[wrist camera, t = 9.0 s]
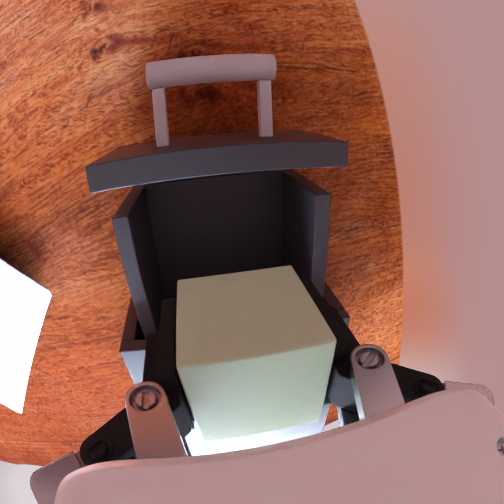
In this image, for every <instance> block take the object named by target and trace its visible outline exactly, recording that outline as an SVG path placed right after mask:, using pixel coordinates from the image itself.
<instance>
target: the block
mask: <svg viewBox="0 0 504 504" xmlns="http://www.w3.org/2000/svg"><path fill="white" fill-rule="evenodd" d="M336 341H337V340H336V338H335V336H334V334H333V333H332V331H331V329H330V328H329V326H328V324H327V323H326V321H325V319H324V318H323V316H322V314H321V313H320V311H319V310H318V308H317V306H316V305H315V303H314V301H313V300H312V298H311V296H310V295H309V293H308V292H307V290H306V288H305V287H304V285H303V284H302V282H301V280H300V279H299V277H298V275H297V274H296V272H295V271H294V269H293V267H292V266H291V265H289V266H281V267H274V268H267V269H260V270H252V271H245V272H237V273H230V274H222V275H215V276H207V277H199V278H191V279H183V280H178V282H177V312H176V367H177V371H178V374H179V377H180V380H181V383H182V386H183V389H184V392H185V395H186V397H187V400H188V403H189V406H190V409H191V411H192V414H193V417H194V420H195V422H196V425H197V428H198V430H199V433H200V435H201V438H202V440H203V441H204V442H207V441H216V440H224V439H231V438H238V437H244V436H250V435H256V434H261V433H266V432H271V431H276V430H281V429H285V428H290V427H294V426H298V425H303V424H307V423H310V422H314V421H318V420H319V419H320V416H321V412H322V408H323V403H324V399H325V395H326V390H327V386H328V381H329V377H330V372H331V367H332V362H333V357H334V352H335V347H336Z"/></svg>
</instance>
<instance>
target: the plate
mask: <svg viewBox="0 0 504 504" xmlns="http://www.w3.org/2000/svg"><path fill="white" fill-rule="evenodd" d="M50 298H51V293H50V291H49V290H48V289H47V288H46V287H44V286H42V285H41V284H39V283H37V282H36V281H34V280H33V279H31V278H30V277H28V276H26V275H25V274H23V273H22V272H20V271H19V270H17V269H16V268H14V267H13V266H11V265H10V264H8V263H7V262H6V261H4V260H3V259H1V258H0V403H2V404H4V405H5V406H7V407H9V408H11V409H12V410H14V411H16V412H18V413H22V408H23V402H24V396H25V391H26V386H27V381H28V376H29V372H30V367H31V363H32V359H33V355H34V351H35V347H36V344H37V340H38V337H39V333H40V330H41V326H42V323H43V320H44V317H45V313H46V310H47V307H48V304H49V301H50Z"/></svg>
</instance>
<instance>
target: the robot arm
mask: <svg viewBox="0 0 504 504" xmlns="http://www.w3.org/2000/svg"><path fill="white" fill-rule="evenodd" d="M301 282H302V284H303V285H304V287H305V288H306V290H307V292H308V293H309V295H310V296H311V298H312V300H313V301H314V303H315V305H316V306H317V308H318V310H319V311H320V313H321V314H322V316H323V318H324V319H325V321H326V323H327V324H328V326H329V328H330V329H331V331H332V333H333V334H334V336H335V338H336V340H337V341H336V347H335V352H334V357H333V362H332V367H331V372H330V377H329V381H328V386H327V390H326V395H325V399H324V403H323V404H324V405H326V404H330V403H332V405H335V406H337V411H338V417H339V423H340V427H338V428H335V429H332V430H328V431H325V432H321V433H317V434H314V435H310V436H306V437H302V438H298V439H294V440H290V441H285V442H281V443H276V444H271V445H266V446H261V447H256V448H250V449H244V450H238V451H231V452H224V453H216V454H208V455H198V456H192V454H191V451H190V449H189V446H188V443H187V441H186V438H185V437H186V436H187V435H188V434H189V433H190V432H191V429H195V428H194V421H195V420H194V417H193V414H192V411H191V409H190V406H189V403H188V400H187V397H186V395H185V392H184V389H183V386H182V383H181V380H180V377H179V374H178V371H177V367H176V312H177V300H176V298H172V299H164V300H162V307H161V318H160V331H159V332H156V333H148V334H147V340H146V349H145V359H144V370H143V381H142V382H140V383H138V384H135V385H134V386H132V387H131V388H130V389H129V390H128V391H127V393H126V396H125V406H126V408H124V409H123V410H122V411H121V412H119V413H118V414H117V415H116V416H114V417H113V418H112V419H111V420H109V421H108V422H107V423H106V424H104V425H103V426H102V427H101V428H99V429H98V430H97V431H95V432H94V433H93V434H92V435H90V436H89V437H88V438H87V439H86V440H85V441H84V442H83V443H82V445H81V447H80V451H78V452H76V453H74V452H73V451H72V452H70V453H68V454H66V455H64V456H63V457H61V458H59V459H57V460H55V461H53V462H51V463H49V464H47V465H45V466H43V467H41V468H39V469H37V470H36V471H35V472H33V474H32V476H31V479H30V486H31V489H32V491H33V493H34V496H35V498H36V500H37V502H38V504H504V417H503V416H502V414H501V413H500V412H499V411H498V409H497V408H496V407H495V406H494V398H493V394H492V392H491V391H490V389H489V388H487V387H486V386H484V385H479V384H469V383H459V382H451V381H445V382H444V383H441V382H440V380H439V379H438V378H436V377H435V376H433V375H430V374H427V373H423V372H420V371H416V370H413V369H409V368H406V367H403V366H399V365H396V364H393V363H390V360H389V358H388V355H387V354H386V352H385V351H384V350H383V349H382V348H380V347H378V346H376V345H372V344H363V345H360V344H359V343H358V341H357V340H356V338H355V337H354V335H353V334H352V332H351V331H350V329H349V328H348V326H347V325H346V323H345V322H344V320H343V319H342V317H341V316H340V314H339V313H338V311H337V310H336V309H335V308H334V307H333V306H330V307H328V305H327V304H326V302H325V301H324V299H323V298H322V296H321V295H320V293H319V292H318V290H317V289H316V287H315V286H314V284H313V283H312V281H311V280H310V279H309V280H302V281H301Z"/></svg>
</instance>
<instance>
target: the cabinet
mask: <svg viewBox="0 0 504 504" xmlns="http://www.w3.org/2000/svg"><path fill="white" fill-rule="evenodd" d="M323 299H324V301H325V302H326V304H327V305H328V307H330V306H333V307H334V308H335V309H336V310H337V311H338V313H339V314H340V316H341V317H342V319H343V320H344V322H345V323H346V325H347V326H349V320H350V316H349V315H348V313H347V312H346V310H345V309H344V307H343V306H342V305H341V303H340V302H339V300H338V299H337V298H336V296H335V295H334V293H333V292H332V291H331V289H330V288H329V287H328V285H327V284H326V282H325V284H324V294H323ZM146 340H147V339H146ZM146 340H145V337H144V334H143V331H142V328H141V325H140V322H139V319H138V316H137V313H136V309H135V306H134V303H133V300H132V296H131V300H130V304H129V309H128V313H127V317H126V322H125V327H124V331H123V336H122V342H121V346H120V354H121V356H122V358H123V360H124V363H125V365H126V367H127V369H128V371H129V373H130V375H131V378H132V380H133V382H134V384H138V383H140V382H142V381H143V370H144V359H145V349H146ZM330 404H331V403H330ZM330 404H326V405H324V404H323V408H322V412H321V416H320V419H319V420H318V421H314V422H310V423H307V424H303V425H298V426H294V427H290V428H285V429H281V430H276V431H271V432H266V433H261V434H256V435H250V436H244V437H238V438H231V439H224V440H216V441H207V442H204V441H203V440H202V438H201V435H200V433H199V430H198V428H197V425H196V422H195V421H194V428H195V429H191V432H190V433H189V434H188V435H187V436H186V437H185V438H186V441H187V443H188V446H189V449H190V451H191V454H192V456H198V455H208V454H216V453H224V452H231V451H238V450H244V449H250V448H256V447H261V446H266V445H271V444H276V443H281V442H285V441H290V440H294V439H298V438H302V437H306V436H310V435H314V434H317V433H321V432H323V428H324V425H325V422H326V418H327V415H328V411H329V407H330Z"/></svg>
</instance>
